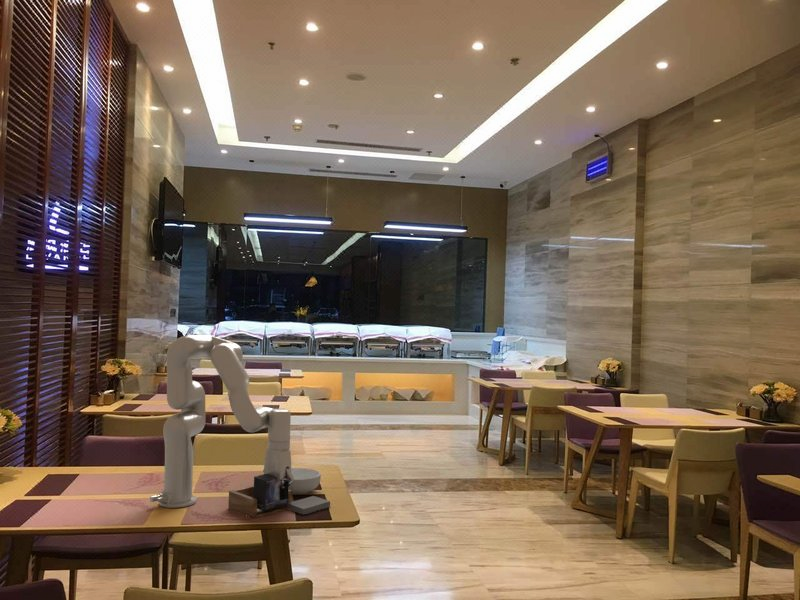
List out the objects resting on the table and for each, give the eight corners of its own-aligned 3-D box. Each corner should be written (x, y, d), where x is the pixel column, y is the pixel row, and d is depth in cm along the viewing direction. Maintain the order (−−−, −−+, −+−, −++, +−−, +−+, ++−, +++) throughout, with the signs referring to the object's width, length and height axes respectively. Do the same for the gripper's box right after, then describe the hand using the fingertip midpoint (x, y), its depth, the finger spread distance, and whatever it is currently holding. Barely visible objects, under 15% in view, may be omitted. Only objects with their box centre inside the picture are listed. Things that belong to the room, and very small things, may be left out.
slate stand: (303, 514, 205) (303, 508, 205) (286, 508, 211) (287, 503, 211) (330, 507, 214) (330, 501, 214) (313, 501, 220) (313, 495, 220)
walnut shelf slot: (252, 518, 201) (253, 500, 201) (228, 508, 210) (228, 491, 210) (291, 507, 213) (291, 490, 213) (266, 498, 222) (267, 482, 222)
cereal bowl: (300, 501, 220) (301, 481, 221) (266, 493, 229) (267, 474, 229) (329, 490, 235) (329, 471, 235) (296, 483, 244) (296, 465, 244)
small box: (264, 511, 201) (265, 480, 202) (251, 507, 205) (252, 476, 206) (288, 504, 210) (289, 473, 210) (275, 500, 214) (276, 470, 214)
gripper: (255, 442, 213) (253, 493, 213) (285, 450, 202) (284, 505, 201) (272, 439, 219) (271, 489, 218) (303, 447, 207) (302, 500, 207)
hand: (277, 496), depth 210 cm, fingers closed on small box, 6 cm apart
